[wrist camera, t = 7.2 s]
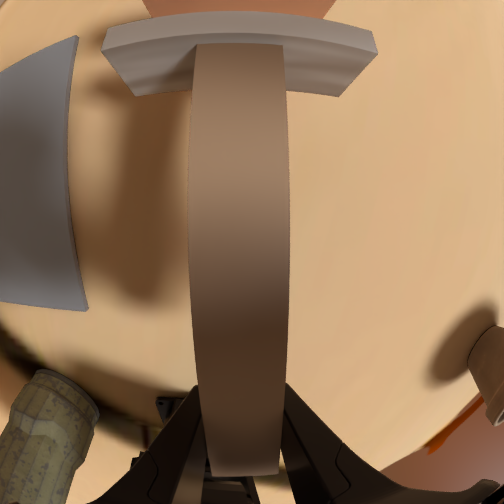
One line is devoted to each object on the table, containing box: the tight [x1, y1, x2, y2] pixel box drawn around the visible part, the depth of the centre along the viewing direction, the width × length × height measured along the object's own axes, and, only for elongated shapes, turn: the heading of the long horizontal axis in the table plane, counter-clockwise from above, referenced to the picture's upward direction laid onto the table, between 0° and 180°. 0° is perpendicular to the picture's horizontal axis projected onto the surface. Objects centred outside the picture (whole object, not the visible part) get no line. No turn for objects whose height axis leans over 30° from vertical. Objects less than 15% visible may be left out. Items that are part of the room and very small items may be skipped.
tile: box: [142, 0, 336, 19], centre depth 8 cm, size 2×7×10 cm, turn 89°
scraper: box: [101, 11, 378, 477], centre depth 8 cm, size 15×8×4 cm, turn 179°
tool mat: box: [0, 35, 89, 312], centre depth 13 cm, size 20×12×1 cm, turn 0°
